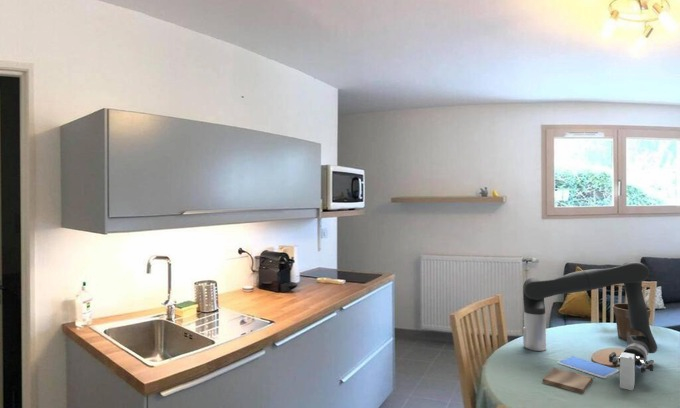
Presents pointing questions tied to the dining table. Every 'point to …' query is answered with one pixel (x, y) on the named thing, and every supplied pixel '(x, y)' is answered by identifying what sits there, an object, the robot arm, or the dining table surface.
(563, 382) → the walnut board
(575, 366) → the tablet computer
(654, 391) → the dining table surface
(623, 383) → the skincare box
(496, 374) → the dining table surface
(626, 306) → the plant pot
